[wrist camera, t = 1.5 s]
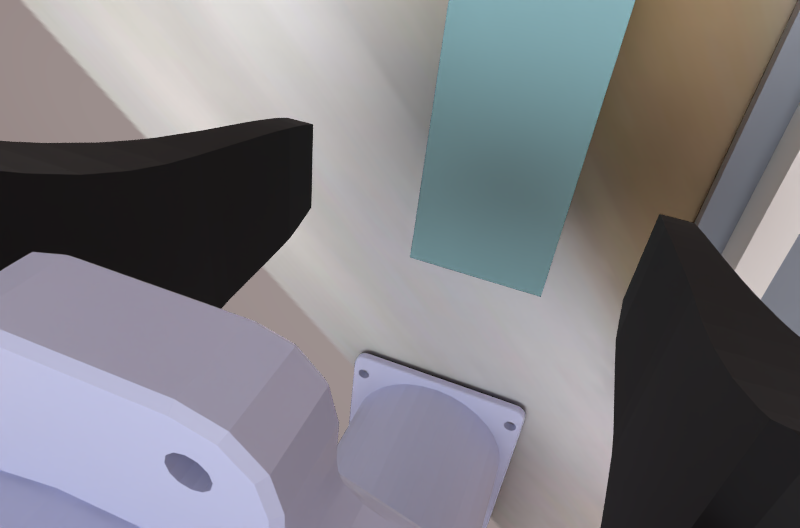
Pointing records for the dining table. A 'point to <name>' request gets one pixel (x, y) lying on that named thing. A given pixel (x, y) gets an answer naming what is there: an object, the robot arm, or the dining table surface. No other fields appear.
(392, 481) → the robot arm
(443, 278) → the dining table surface
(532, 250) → the block
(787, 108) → the cradle jig
